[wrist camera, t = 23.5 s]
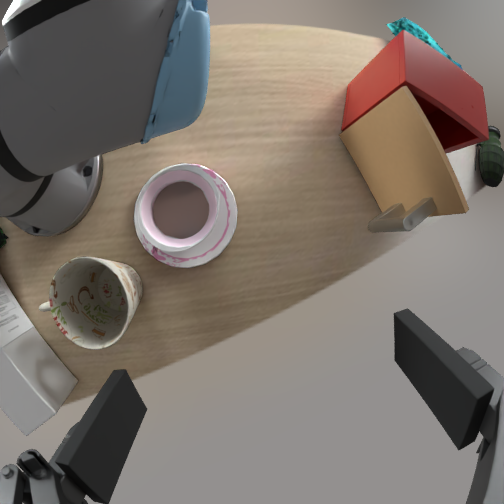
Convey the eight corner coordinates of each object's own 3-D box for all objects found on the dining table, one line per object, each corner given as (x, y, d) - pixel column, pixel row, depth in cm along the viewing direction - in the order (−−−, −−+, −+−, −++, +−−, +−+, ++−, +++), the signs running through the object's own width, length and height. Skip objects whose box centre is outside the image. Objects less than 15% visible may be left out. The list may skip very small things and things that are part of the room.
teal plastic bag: (467, 83, 39) (473, 79, 37) (442, 114, 37) (450, 110, 35) (407, 16, 37) (412, 10, 35) (370, 33, 35) (375, 27, 33)
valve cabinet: (415, 164, 37) (489, 139, 22) (340, 130, 35) (405, 80, 20) (417, 120, 37) (482, 86, 22) (347, 85, 35) (403, 29, 20)
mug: (160, 313, 33) (142, 341, 23) (73, 332, 31) (35, 359, 21) (142, 244, 32) (115, 246, 22) (55, 269, 30) (10, 278, 21)
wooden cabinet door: (358, 240, 36) (436, 241, 21) (307, 150, 34) (364, 101, 20) (389, 218, 36) (469, 209, 22) (342, 133, 35) (406, 85, 20)
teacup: (170, 146, 32) (163, 127, 26) (256, 198, 34) (266, 189, 28) (116, 233, 32) (97, 231, 25) (202, 287, 33) (200, 297, 27)
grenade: (506, 179, 33) (505, 124, 33) (474, 170, 37) (476, 117, 37) (502, 193, 37) (503, 141, 37) (473, 185, 41) (476, 134, 41)
